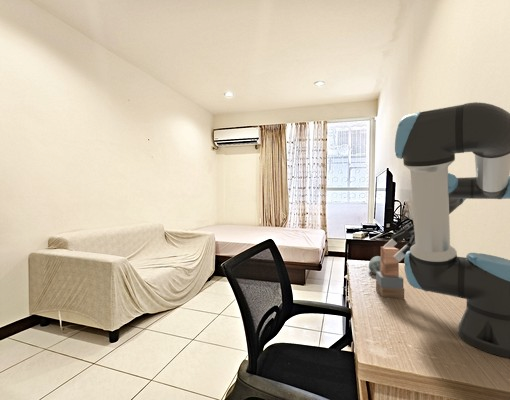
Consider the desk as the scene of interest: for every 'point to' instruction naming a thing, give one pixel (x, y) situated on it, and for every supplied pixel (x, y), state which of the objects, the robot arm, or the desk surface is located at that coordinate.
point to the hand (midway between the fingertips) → (389, 255)
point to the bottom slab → (390, 292)
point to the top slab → (389, 281)
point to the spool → (375, 264)
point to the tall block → (389, 262)
